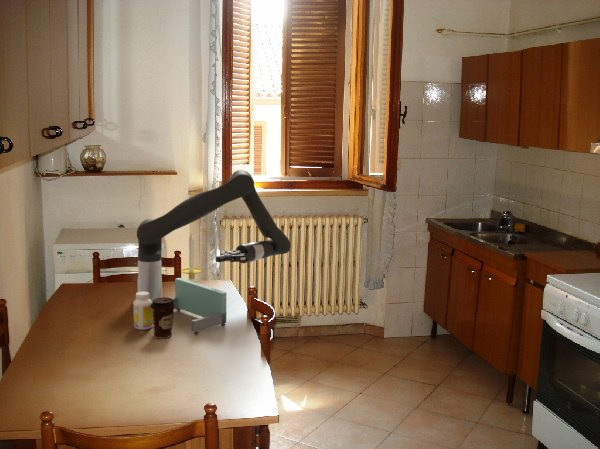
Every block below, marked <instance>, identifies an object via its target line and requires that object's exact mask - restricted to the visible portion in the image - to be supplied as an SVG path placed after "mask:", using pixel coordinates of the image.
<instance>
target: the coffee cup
mask: <svg viewBox="0 0 600 449" xmlns="http://www.w3.org/2000/svg"><path fill="white" fill-rule="evenodd" d="M172 298H173V297H168V296H167V297H166V296H162V298H156V299H154V300H153V303H152V304H151V305H150V307H151V309H152V316H153V326H152V327H153V336H154V338H157V339H166V338H170V337H172V335H173V332H172V329H173V326H174V316H175V315H174V314H175V309H174V306H175V304H174V303H173V302H174V300H173V299H172Z"/></svg>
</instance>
